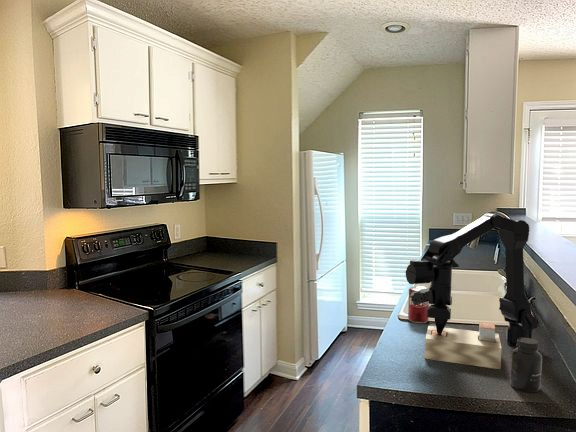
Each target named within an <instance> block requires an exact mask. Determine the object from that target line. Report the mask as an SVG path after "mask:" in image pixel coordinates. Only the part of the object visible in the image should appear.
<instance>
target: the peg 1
mask: <svg viewBox="0 0 576 432" xmlns="http://www.w3.org/2000/svg"><path fill="white" fill-rule="evenodd" d="M446 333H447V332H442V333H441V334H438V333H437V331H432V335H436V336H444V337H446Z"/></svg>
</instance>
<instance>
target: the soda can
mask: <svg viewBox="0 0 576 432" xmlns="http://www.w3.org/2000/svg"><path fill="white" fill-rule="evenodd" d="M427 288H428V287H425V286H416V285H414V286H410V287H409V289H408V302H407V303H408V305H407V319H408V321H409V322H411V323H416V324H426V323H428V322H429V319H430V318H429V317H427V310H428V307H429V306H430V304H429V301H428V302H425V303H421V304H418V305H414V304H413V302H412V301H411V299H412V298H411V293H412V292H415V291H419V290H422V289H427Z"/></svg>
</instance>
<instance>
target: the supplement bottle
mask: <svg viewBox="0 0 576 432" xmlns="http://www.w3.org/2000/svg"><path fill="white" fill-rule="evenodd" d="M539 349H540V348H539V342H538V340H536V339H534V338H532V339H530V338H518V339H517V344H516V346H515V348H514V349H513V350H512V351H511V359H510V360H511V361H510V374H509V375H510V376H509V377H510V378H509V383H510V385H511V387H513V388H514V389H516V390H519V391H521V392H525V393H526V392H527V393H537V392H539V391H540V390H541V383H542V371H543V370H542V368H543V355H542V354H541V352H539Z"/></svg>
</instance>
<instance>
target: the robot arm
mask: <svg viewBox="0 0 576 432" xmlns="http://www.w3.org/2000/svg"><path fill="white" fill-rule="evenodd" d="M492 230H495V231H496V232H497V231H498V234H499V239H500V241H501V242H502V244H503V246H504V249H505V252H504V253H505V254H504V255H505V282H506V283H505V284H506V285H505V286H506V292H505V294H504V296H503V297H500V298H499V300H498V301H499V308H498V310H500V313H501V315H502V316H503V318H504V319H503V320H504V321H505V322H506V323H507V322H508V326H507V327H506V336H505V337H506V339H505V340H506V342H507V343H508V346H510V347H511V346H512V347H517V346H516V344H517V339H518V338H530V339H533V330H534V329H537V328H538V326H539V323H540V321H538V319H537V318H536V317H535V316H534V315H533V314H532V309H531V303H530V301H529V300H528V298H527V296H526V294H525V275H524V273H525V272H524V271H525V270H524V267H525V266H524V247H525V246H526V244H527V242H528V241H529V235H530V225H529V223H528V222H526V221H525V220H524V219H516V218H507V217H505V216H502V215H499V214H495V213H489V212H487V213H485V214H483V215H482V216H481V217H480V218H478V219H476V220H475V221H472V222H471V223H470V224H468V225H465V226H464V227H463V228H461V229H459V230H458V231H456V232H453V233H452V234H448V235H443V236H440V237H437V238H435V239H433V240H432V241H430V243H429V246H428V248H427V250H426V251H425V253H424V254H423V256H422V257H421V258H420V260H416V259H415V260H413V259H412V260H410V261H409V264H408V265H407V266H406V270H405V279H406V281H407V283H408V284H409V285H420V284H421V285H422V284H423V285H425V284H429V287H426V288H427V289H422V290H419V291H415V292H412V293H411V298H412V299H411V301H412V302H413V304H414V305H418V304H421V303H425V302H428V301H429V307H428V310H427V317H429V319H434V322H435V323H434V324H435V326H436V329H437V333H438V334H441V333H442V331H443V329H444V328H446V325H447V323H448V321H450V320H451V317H452V314H451V313H452V309H451V308H450V306H452V304H453V296H452V277H453V268H458V267H460V265H459V264H458V263H457V262H456V261H455V258H456V257H457V256H458V255H460V254H461V252H462V250H463V248H465V246H467V245H469V244H470V243H472V242H473V241H476V240H477V239H478V238H480V237H482V236H483V235H485V234H487V233H488V232H490V231H492Z"/></svg>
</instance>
